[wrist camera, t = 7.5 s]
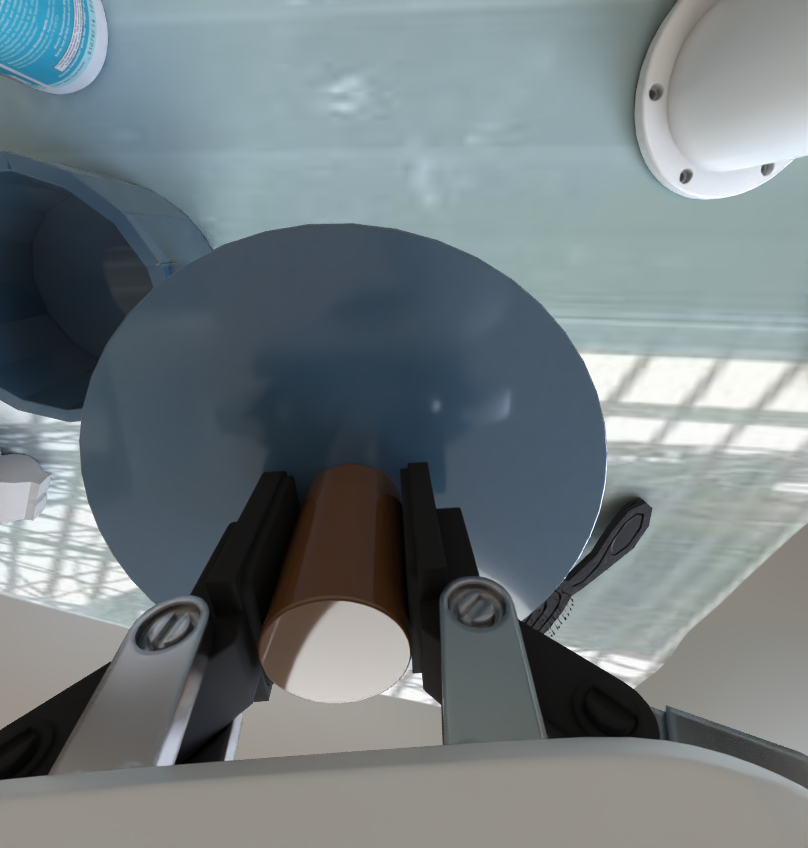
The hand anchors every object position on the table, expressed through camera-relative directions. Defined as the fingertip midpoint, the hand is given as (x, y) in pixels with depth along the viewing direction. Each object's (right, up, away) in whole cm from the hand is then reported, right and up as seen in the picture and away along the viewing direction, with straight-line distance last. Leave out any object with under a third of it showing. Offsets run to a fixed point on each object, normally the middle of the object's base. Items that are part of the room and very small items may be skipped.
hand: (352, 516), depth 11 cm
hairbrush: (+17, -14, +32) cm, 39 cm away
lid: (0, 0, +1) cm, 1 cm away
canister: (-18, +12, +19) cm, 29 cm away
